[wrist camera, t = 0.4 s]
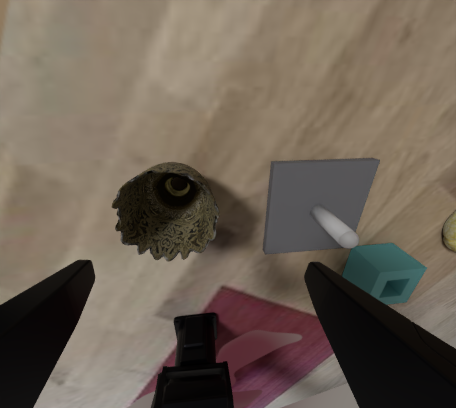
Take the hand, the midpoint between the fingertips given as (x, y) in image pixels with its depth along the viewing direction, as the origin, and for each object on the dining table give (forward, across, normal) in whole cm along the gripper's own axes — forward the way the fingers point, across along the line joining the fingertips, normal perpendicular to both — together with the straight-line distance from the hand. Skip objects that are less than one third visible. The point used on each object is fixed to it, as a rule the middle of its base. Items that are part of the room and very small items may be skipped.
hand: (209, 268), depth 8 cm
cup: (+14, +3, +2) cm, 15 cm away
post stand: (+14, -14, +4) cm, 20 cm away
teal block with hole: (+14, -25, +12) cm, 32 cm away
